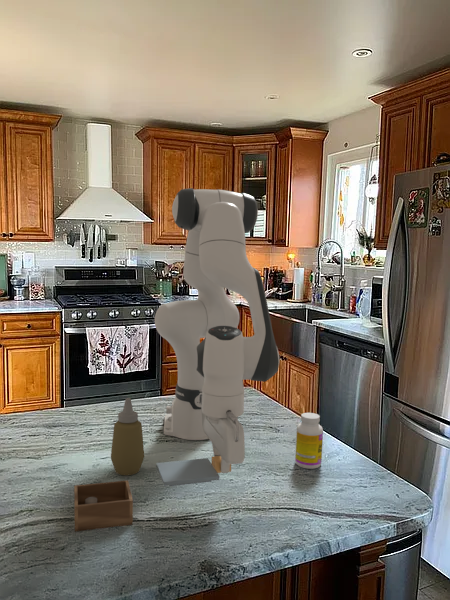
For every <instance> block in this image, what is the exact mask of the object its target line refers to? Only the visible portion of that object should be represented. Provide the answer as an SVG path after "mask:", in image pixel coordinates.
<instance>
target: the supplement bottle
mask: <svg viewBox="0 0 450 600" xmlns="http://www.w3.org/2000/svg"><path fill="white" fill-rule="evenodd" d="M320 418H321V415H320V414H318V413H313V412H303V413H301V414H300V421H301V422H300V423H299V424H297V426H296V435H295V437H296V438H295V454H294V455H295V456H294V458H295V459H294V461H295V464H296V465H297V466H298V467H300V468H304V469H308V470H313V469H317V468H320V467H321V465H322V459H323V455H322V454H323V438H324V437H323V436H324V435H323V434H324V429H323V426H322V425H320V421H321V419H320Z"/></svg>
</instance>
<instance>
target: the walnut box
mask: <svg viewBox="0 0 450 600" xmlns="http://www.w3.org/2000/svg"><path fill="white" fill-rule="evenodd" d="M73 487H74V488H73V489H74V491H73V493H74V495H73V496H74V497H73V499H74V501H73V502H74V504H73V506H74V508H73V509H74V511H73V512H74V515H73V516H74V518H73V519H74V532H75V533H77V532H83V531H84V532H85V531H92V530H101V529H107V528H108V529H110V528H117V527H124V526H125V527H126V526H132V525H134V524H133V522H134V500H133V495H132V490H131V487H130V483H129V479H128V480H118V481H117V480H115V481H107V482H97V483H95V482H94V483H86V484H76V485H74V486H73Z"/></svg>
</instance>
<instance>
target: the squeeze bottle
mask: <svg viewBox="0 0 450 600" xmlns="http://www.w3.org/2000/svg"><path fill="white" fill-rule="evenodd" d="M131 399H132V398H130V397H126V398H125V400H124V404H123V408H122V410H121V411H120V412H118V415H117V416H118V417H117V421H116V422H115V423H114V424H113V432H112V443H111V451H110V460H111V463H112V466H113V469H114V472H115V473H116V474H117V475H120V476H132V475H136V474H137V473H139V472H140V470H141V467H142V466H143V463H144V459H145V448H144V447H145V446H144V435H143V434H144V433H143V426H142V422H141V421H139V414H138V412H137V411H135V410H134V408H133V403H132V400H131Z"/></svg>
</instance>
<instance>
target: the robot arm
mask: <svg viewBox="0 0 450 600" xmlns="http://www.w3.org/2000/svg"><path fill="white" fill-rule="evenodd" d="M171 212H172V216H173V220H174V221H173V222H174V223H175V225H176V226H177V227H178V228H180V229H182V230H185V231H188V232H187V237H186V242H185V251H184V262H183V270H182V271H183V272H182V273H183V274H182V275H183V276H182V277H183V279H184V281H185V283H186V284H188V285H189V286H190V287H191V288H193V289H195V290H197V293H198V294H197V295H198V296H197V299H190V300H188V299H186V300H175V301H174V300H173V301H169V302H167V303H163V304H161V305H160V306H159V307H158V309H157V310H156V312H155V315H154V325H155V329H156V331H157V333H158V334H159V335H160V336H161V338H163V339H164V340H166V341H167V342H168V344H169V345H170V346H171V347H172V349H173V351H174V353H175V354H174V355H175V357H176V362H177V363H176V365H177V383H176V385H175V390H174V391H175V394H174V395H175V397H174V398H173V400H172V401H171V405H167V406H166V409H165V410H166V411H165V412H166V414H165V415H164V422H163V435H166V436H170V437H171V436H172V437H176V438H179V439H183V440H188V441H203V440H210V442H211V444H212V445H211V447H212V452H213V457H214V456H221V462H220V471H221V472H222V473H221V474H227V473H230V472H229V471H230V464H231V465H236V464H243V462H244V460H245V458H246V457H245V455H246V454H245V453H246V449H245V448H246V447H245V445H246V444H245V430H244V427H243V424H242V423H241V422H240V421H239V418H238V417H240V416H243V414H244V412H245V387H244V381H243V380H247V381H248V380H250V381H253V382H255V381H256V382H264V383H265V382H267V381H269V380H270V379H271V378H273V377H274V376H275V375H276V374H277V373H278V371H279V368H280V352H279V348H278V346H277V343H276V339H275V335H274V331H273V326H272V321H271V317H270V311H269V306H268V301H267V296H266V291H265V286H264V282H263V279H262V276H261V273H260V271H259V270H258V269H257V268H255V267H253V266H252V264H251V263H250V261H249V258H248V256H247V250H246V246H247V245H246V234H248V233H249V232H251V231H252V230H254V228H255V225H256V223H257V221H258V217H259V209H258V202H257V200H256V198H255V197H254V196H252V195H250V194H248V193H245V192H240V193H239V192H237V191H235V192H234V191H232V190H231V191H230V190H225V189H210V188H209V189H206V188H204V189H202V188H201V189H200V188H199V189H196V188H195V189H194V188H191V187H190V188H189V187H188V188H182V189H180V190H179V191H178V192H177V193H176V195H175V198H174V200H173V203H172V207H171ZM225 289H227V290H229V291H232V292H234V293H236V294H238V295H240V296H241V297H243V298H244V300H246V303H247V304H248V306H249V311H250V317H251V323H252V327H253V333H254V334H253V335H252V336H243V332H242V331H241V330H240V329H239V328H238V326H239V324H240V312H239V309H238V308H237V307H238V306H237V305H236V304H235V303H234V301H232V300H231V299H230V298H229V297H228V295H227V293H226V290H225ZM203 338H204V339H203ZM201 339H203V340H202V341H201Z"/></svg>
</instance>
